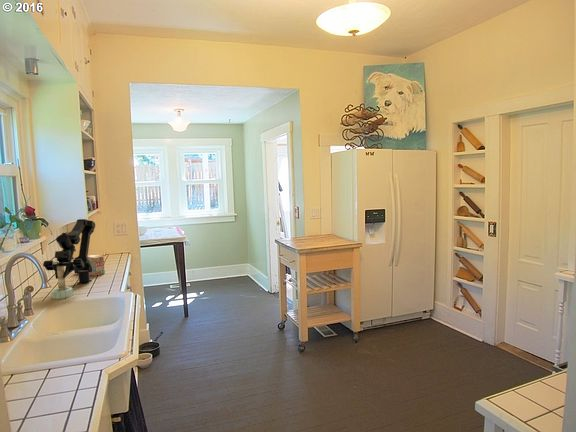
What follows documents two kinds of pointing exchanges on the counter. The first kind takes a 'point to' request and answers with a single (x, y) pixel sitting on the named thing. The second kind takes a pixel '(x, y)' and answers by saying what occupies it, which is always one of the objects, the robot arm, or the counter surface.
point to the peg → (61, 278)
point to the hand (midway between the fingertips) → (60, 278)
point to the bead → (62, 293)
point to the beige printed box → (96, 264)
